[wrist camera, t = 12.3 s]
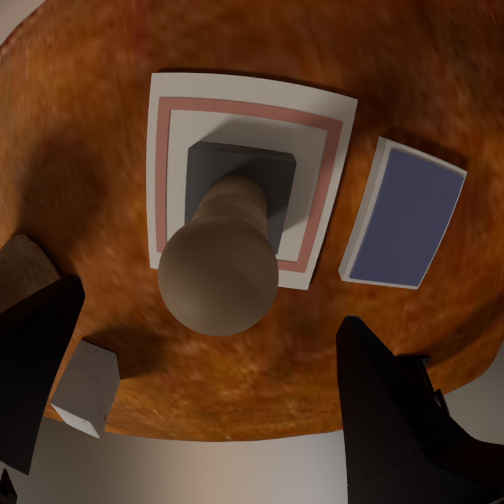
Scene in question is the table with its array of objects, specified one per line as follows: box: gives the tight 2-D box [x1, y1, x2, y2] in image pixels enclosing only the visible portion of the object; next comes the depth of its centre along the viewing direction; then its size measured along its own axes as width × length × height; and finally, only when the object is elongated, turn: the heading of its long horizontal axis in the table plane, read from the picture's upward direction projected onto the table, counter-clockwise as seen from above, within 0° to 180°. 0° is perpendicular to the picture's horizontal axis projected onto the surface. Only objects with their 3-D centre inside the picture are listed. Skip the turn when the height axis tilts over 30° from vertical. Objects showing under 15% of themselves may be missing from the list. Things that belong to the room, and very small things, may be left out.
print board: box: [146, 73, 358, 290], centre depth 18 cm, size 13×15×1 cm
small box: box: [50, 340, 120, 438], centre depth 27 cm, size 8×6×10 cm
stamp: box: [158, 141, 297, 336], centre depth 13 cm, size 6×6×12 cm
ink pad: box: [338, 136, 467, 289], centre depth 18 cm, size 8×11×2 cm
